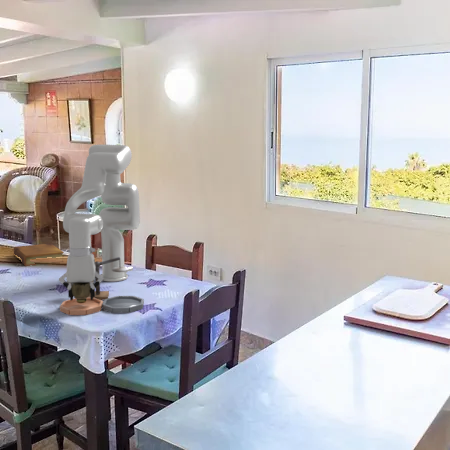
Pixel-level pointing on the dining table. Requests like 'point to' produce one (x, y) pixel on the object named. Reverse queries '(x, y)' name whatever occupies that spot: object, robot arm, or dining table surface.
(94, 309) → the dish terracotta
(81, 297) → the cup
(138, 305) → the dish slate
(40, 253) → the diary
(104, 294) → the balance
